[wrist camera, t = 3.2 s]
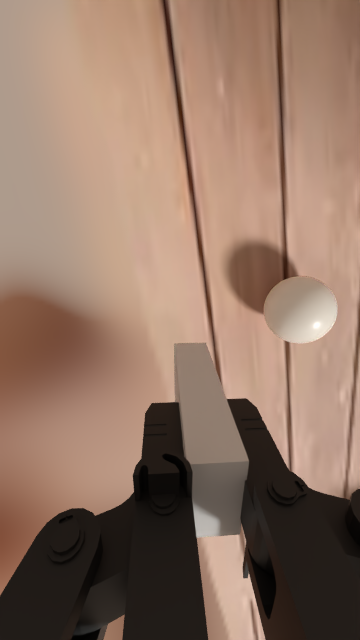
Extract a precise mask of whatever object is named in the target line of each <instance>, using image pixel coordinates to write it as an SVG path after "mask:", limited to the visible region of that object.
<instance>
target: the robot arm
mask: <svg viewBox="0 0 360 640" xmlns="http://www.w3.org/2000/svg"><path fill="white" fill-rule="evenodd" d="M174 369H175V402H170V403H152V404H151V405H150V407H149V408H148V410H147V411H146V413H145V422H144V434H143V435H144V437H143V446H142V447H143V448H142V459H141V460H140V461H139V462H138V464H137V465H136V467H135V470H134V474H133V482H134V493H133V494H132V495H131V496H130V498H129V499H127V500H126V501H125V502H124V503H123V504H121V505H119V506H117V507H116V508H113V509H111V510H109V511H106V512H104V513H101V514H99V515H96V516H95V515H94V514H93V513H92V512H90V511H88V510H86V509H84V508H77V509H69V510H67V511H64V512H62V513H59V514H58V515H57V516H55V517H54V518H53V519H51V520H50V521H49V522H47V524H46V525H45V526H44V527H43V529H42V530H41V531H40V532H39V534H38V535H37V536H36V538H35V540H34V541H33V543H32V545H31V546H30V548H29V549H28V551H27V553H26V555H25V556H24V558H23V559H22V561H21V563H20V564H19V566H18V568H17V569H16V571H15V572H14V574H13V576H12V577H11V579H10V581H9V582H8V584H7V586H6V587H5V589H4V591H3V592H2V594H1V595H0V640H103V639H104V635H105V632H106V629H107V625H108V623H110V622H112V621H114V620H115V619H117V618H119V617H121V616H122V615H124V614H125V618H124V629H123V640H208V634H207V625H206V616H205V607H204V599H203V590H202V581H201V572H200V564H199V555H198V547H197V537H211V536H224V535H238V534H240V529H241V523H242V527H243V530H244V534H245V538H246V548H245V555H244V562H243V578H248V573H249V574H250V578H251V582H252V586H253V590H254V594H255V598H256V602H257V606H258V610H259V615H260V619H261V623H262V627H263V631H264V635H265V639H266V640H360V489H358V490H356V491H355V492H354V493H353V494H352V495H351V498H350V500H348V499H344V498H340V497H336V496H332V495H327V494H323V493H320V492H317V491H315V490H312V489H311V488H309V487H308V486H307V485H306V484H305V482H304V481H303V480H302V479H301V478H300V477H298V476H297V475H296V474H294V473H293V472H291V471H289V469H288V468H287V466H286V464H285V462H284V460H283V458H282V456H281V454H280V452H279V450H278V448H277V447H276V445H275V443H274V441H273V439H272V437H271V435H270V433H269V431H268V430H267V427H266V425H265V423H264V421H262V417H261V415H260V413H259V411H258V409H257V407H255V406H254V405H253V404H252V403H251V402H250V401H249V400H248V399H246V398H244V399H226V396H225V394H224V391H223V388H222V386H221V383H220V380H219V377H218V375H217V372H216V369H215V366H214V364H213V361H212V358H211V355H210V353H209V350H208V347H207V345H206V343H178V344H174Z"/></svg>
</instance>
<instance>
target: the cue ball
mask: <svg viewBox="0 0 360 640" xmlns="http://www.w3.org/2000/svg"><path fill="white" fill-rule="evenodd" d="M337 308H338V307H337V302H336V298H335V296H334V294H333V293H332V291H331V290H330V288H329V287H328V286H327V285H325V284H324V283H323V282H321V281H319V280H317V279H315V278H312V277H307V276H295V277H291V278H288V279H285V280H283V281H281V282H279V283H278V284H277V285H275V286H274V287H273V288H272V289H271V291H270V292H269V294H268V295H267V297H266V300H265V303H264V317H265V321H266V323H267V325H268V327H269V328H270V330H271V331H272V332H273V333H274V334H275V335H276V336H278V337H279V338H281V339H283V340H285V341H288V342H292V343H308V342H312V341H315V340H317V339H319V338H321V337H322V336H324V335H325V334H326V333H327V332H328V331H329V330H330V329H331V328H332V326H333V324H334V323H335V320H336V317H337Z"/></svg>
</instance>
